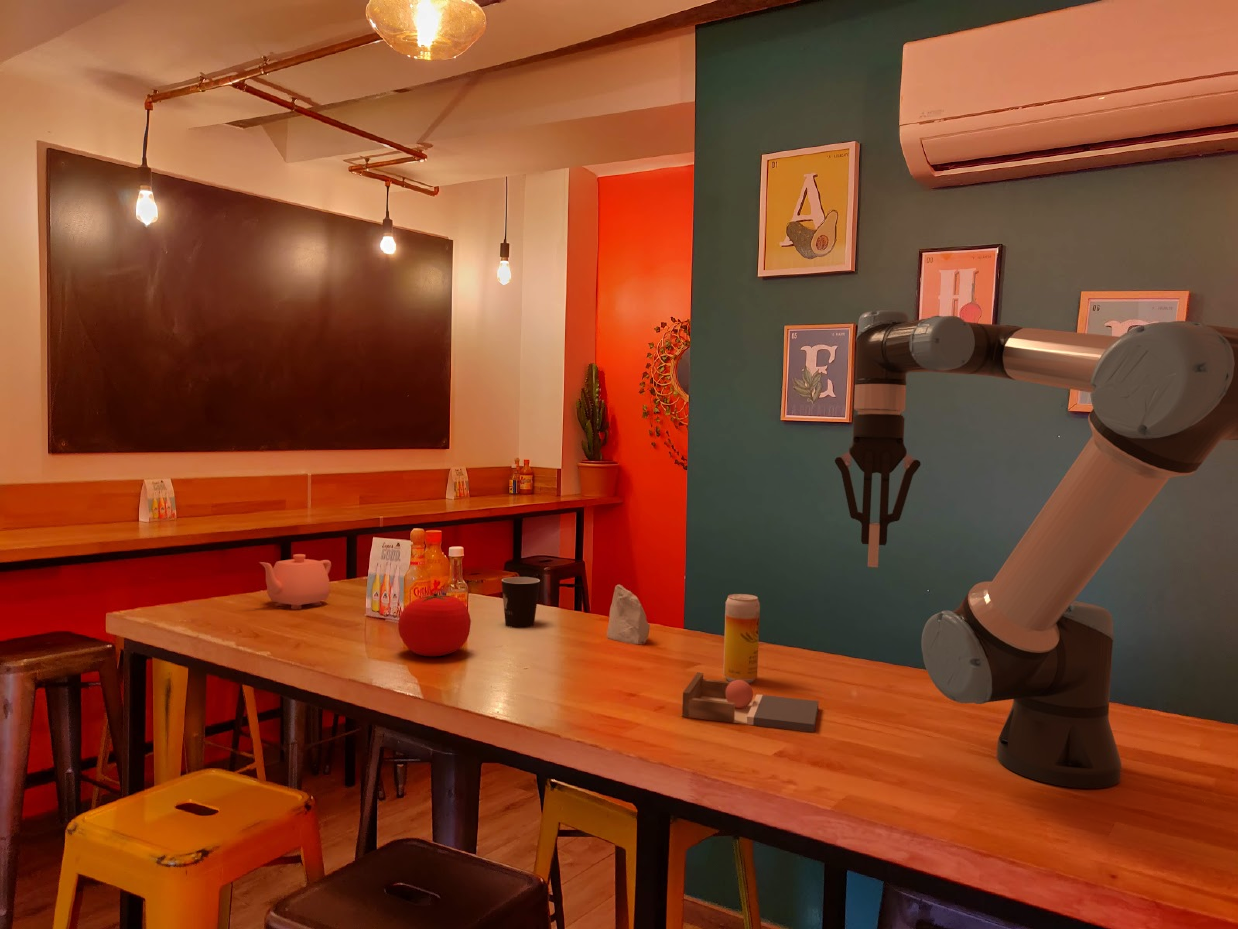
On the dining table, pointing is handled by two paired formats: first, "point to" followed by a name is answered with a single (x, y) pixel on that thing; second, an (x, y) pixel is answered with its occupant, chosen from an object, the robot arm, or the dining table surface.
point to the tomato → (434, 625)
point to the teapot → (298, 581)
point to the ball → (739, 693)
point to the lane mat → (777, 712)
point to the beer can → (741, 637)
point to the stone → (627, 618)
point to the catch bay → (705, 707)
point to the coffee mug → (520, 601)
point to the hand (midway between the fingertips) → (872, 565)
